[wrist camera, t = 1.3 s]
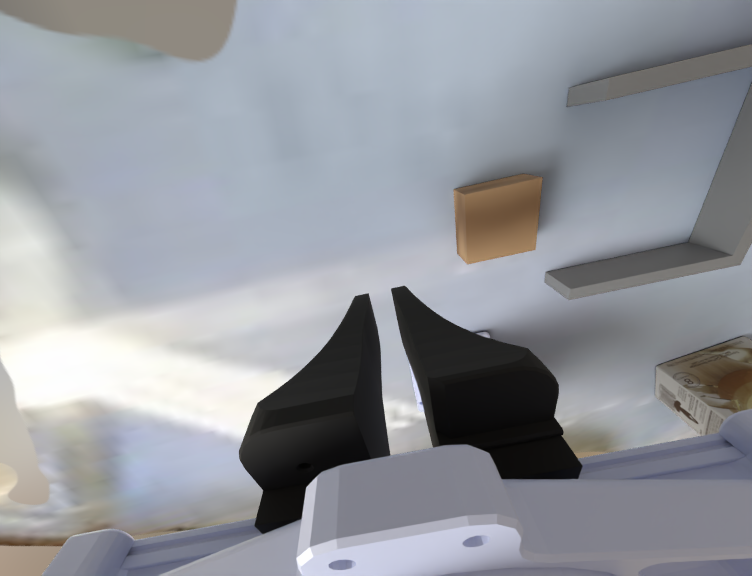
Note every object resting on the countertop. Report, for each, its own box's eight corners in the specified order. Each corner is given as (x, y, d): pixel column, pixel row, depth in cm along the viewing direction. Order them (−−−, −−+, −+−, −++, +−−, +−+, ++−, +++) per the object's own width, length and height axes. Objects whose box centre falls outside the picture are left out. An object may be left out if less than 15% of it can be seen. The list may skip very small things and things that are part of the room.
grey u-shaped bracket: (695, 250, 23) (740, 264, 20) (544, 282, 23) (568, 300, 21) (785, 36, 16) (870, 16, 13) (569, 87, 16) (609, 77, 14)
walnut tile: (517, 238, 21) (535, 249, 19) (456, 251, 22) (467, 264, 19) (521, 173, 19) (542, 177, 17) (452, 188, 19) (464, 194, 17)
